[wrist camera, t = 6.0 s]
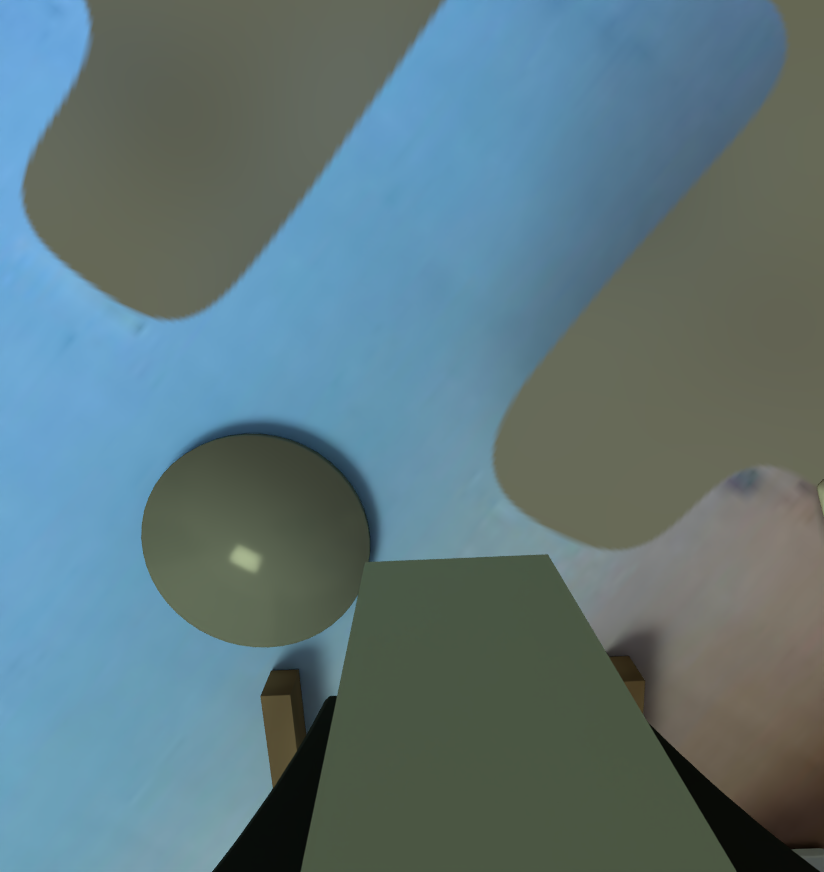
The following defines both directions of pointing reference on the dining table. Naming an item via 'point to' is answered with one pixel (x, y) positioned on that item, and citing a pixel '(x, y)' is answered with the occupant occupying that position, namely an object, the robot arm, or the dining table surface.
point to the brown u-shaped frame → (289, 723)
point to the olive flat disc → (256, 540)
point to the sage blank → (492, 736)
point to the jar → (821, 494)
